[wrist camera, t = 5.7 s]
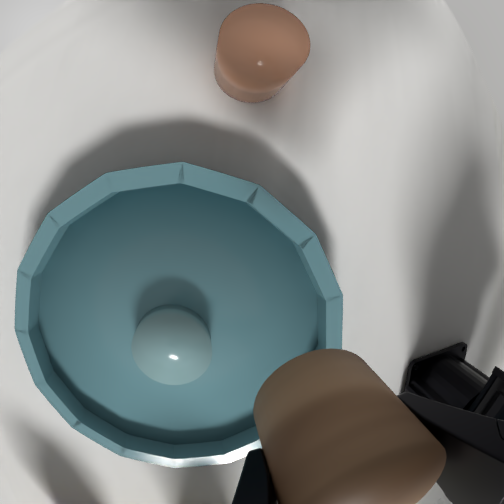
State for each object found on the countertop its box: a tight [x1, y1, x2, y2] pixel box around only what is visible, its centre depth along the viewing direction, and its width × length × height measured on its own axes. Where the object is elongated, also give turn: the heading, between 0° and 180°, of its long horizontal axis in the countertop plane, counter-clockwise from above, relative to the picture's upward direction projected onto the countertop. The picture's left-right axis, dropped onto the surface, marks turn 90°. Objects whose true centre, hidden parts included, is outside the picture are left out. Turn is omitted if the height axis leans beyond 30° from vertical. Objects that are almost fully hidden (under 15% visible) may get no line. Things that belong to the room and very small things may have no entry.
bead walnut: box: [253, 348, 446, 504], centre depth 8 cm, size 4×4×4 cm
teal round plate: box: [15, 162, 343, 468], centre depth 18 cm, size 19×19×2 cm
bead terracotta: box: [214, 3, 310, 103], centre depth 14 cm, size 4×4×4 cm
